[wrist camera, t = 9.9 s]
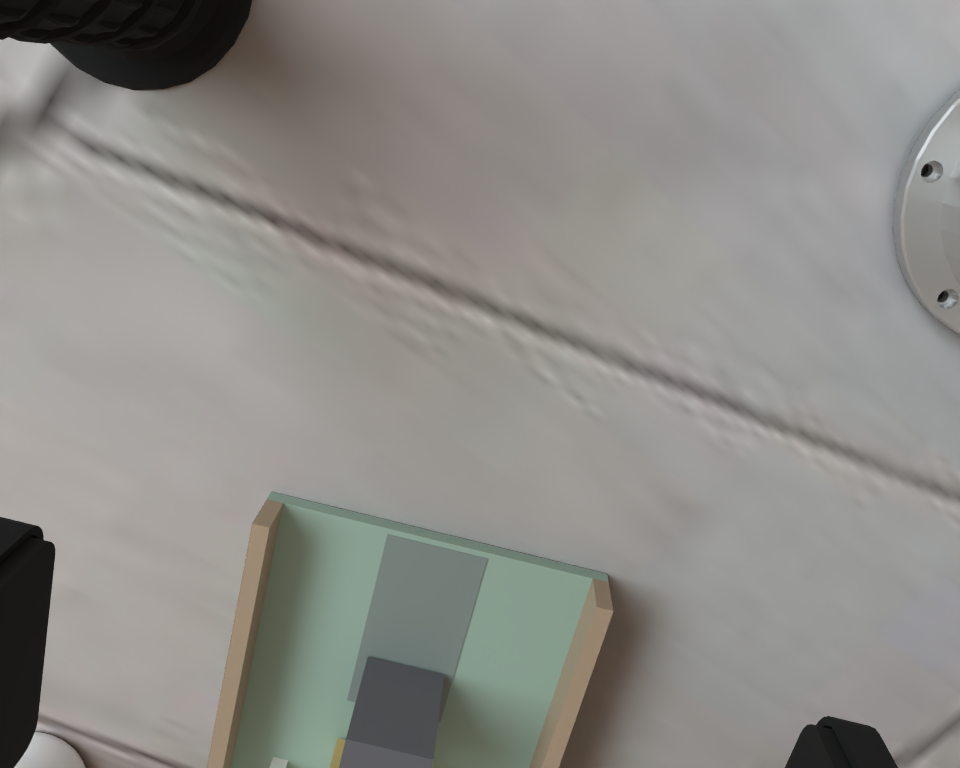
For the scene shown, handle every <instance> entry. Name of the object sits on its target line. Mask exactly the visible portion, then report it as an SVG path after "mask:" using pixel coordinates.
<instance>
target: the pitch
mask: <svg viewBox="0 0 960 768" xmlns="http://www.w3.org/2000/svg"><path fill="white" fill-rule="evenodd" d="M612 614H613V605H612V599H611V594H610V588H609V582H608V576H607V574H606V573H602V572H598V571H594V570H590V569H585V568H581V567H577V566H573V565H569V564H565V563H561V562H557V561H553V560H549V559H545V558H540V557H536V556H532V555H528V554H524V553H520V552H516V551H512V550H508V549H504V548H500V547H495V546H491V545H487V544H483V543H479V542H475V541H471V540H467V539H463V538H459V537H455V536H450V535H446V534H442V533H438V532H434V531H430V530H426V529H422V528H418V527H414V526H410V525H405V524H401V523H397V522H393V521H389V520H385V519H381V518H377V517H373V516H369V515H365V514H360V513H356V512H352V511H348V510H344V509H340V508H336V507H332V506H328V505H324V504H320V503H315V502H311V501H307V500H303V499H299V498H295V497H291V496H287V495H283V494H279V493H275V492H271V493H270V495H269V497H268V498H267V500H266V501H265V503H264V505H263V506H262V508H261V510H260V511H259V513H258V515H257V516H256V518H255V520H254V521H253V523H252V527H251V533H250V538H249V544H248V549H247V554H246V560H245V565H244V570H243V576H242V581H241V587H240V592H239V597H238V603H237V608H236V613H235V619H234V624H233V629H232V635H231V640H230V646H229V651H228V656H227V662H226V667H225V672H224V678H223V683H222V689H221V694H220V699H219V705H218V710H217V715H216V721H215V726H214V731H213V737H212V742H211V748H210V753H209V758H208V764H207V768H269V767H270V765H271V762H272V759H273V757H277V758H281V759H285V760H288V763H287V767H286V768H329V767H330V764H331V760H332V757H333V753H334V749H335V746H336V742H337V739H338V738H339V739H343V740H346V737H347V733H348V729H349V725H350V721H351V718H352V714H353V710H354V706H355V703H356V699H357V695H358V691H359V687H360V684H361V680H362V676H363V672H364V669H365V665H366V661H367V657H372V658H376V659H380V660H384V661H389V662H393V663H397V664H401V665H405V666H410V667H414V668H418V669H422V670H426V671H431V672H435V673H439V674H443V675H444V681H443V689H442V697H441V705H440V713H439V720H438V728H437V736H436V744H435V752H434V759H433V763H432V766H431V768H559V766H560V763H561V760H562V757H563V754H564V751H565V749H566V746H567V743H568V740H569V737H570V734H571V731H572V729H573V726H574V723H575V720H576V717H577V714H578V711H579V709H580V706H581V703H582V700H583V697H584V694H585V691H586V689H587V686H588V683H589V680H590V677H591V674H592V671H593V669H594V666H595V663H596V660H597V657H598V654H599V651H600V649H601V646H602V643H603V640H604V637H605V634H606V631H607V629H608V626H609V623H610V620H611V617H612Z"/></svg>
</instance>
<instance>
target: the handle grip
mask: <svg viewBox="0 0 960 768" xmlns="http://www.w3.org/2000/svg"><path fill="white" fill-rule="evenodd" d="M251 1H252V0H0V39H2V40H3V39H5V38H7V37H10V38H13V39H15V40H18V41H24V42H34V43H44V44H46V43H50V44H51V45H52V46H53V47H55V48H56V49H57V50H58V51H59V52H60V53H61V54H62V55H63V56H65V57H66V58H67V59H68V60H69V61H70V62H71V63H72V64H73V65H75V66H76V67H77V68H79V69H81V70H82V71H84V72H86V73H88V74H90V75H92V76H94V77H95V78H97V79H99V80H101V81H103V82H105V83H109V84H113V85H117V86H121V87H125V88H128V89H132V90H148V89H165V88H169V87H172V86H176V85H180V84H184V83H188V82H190V81H192V80H194V79H195V78H197V77H198V76H200V75H201V74H203V73H205V72H206V71H208V70H209V69H211V68H212V67H214V66H215V65H216V64H217V63H218V62H219V61H220V59H221V58H222V57H223V56H224V55H225V54H226V53H227V51H228V50H229V49H230V48H231V47H232V46H233V45H234V43H235V41H236V39H237V37H238V35H239V34H240V32H241V30H242V28H243V26H244V24H245V22H246V20H247V18H248V15H249V11H250V6H251Z"/></svg>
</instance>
